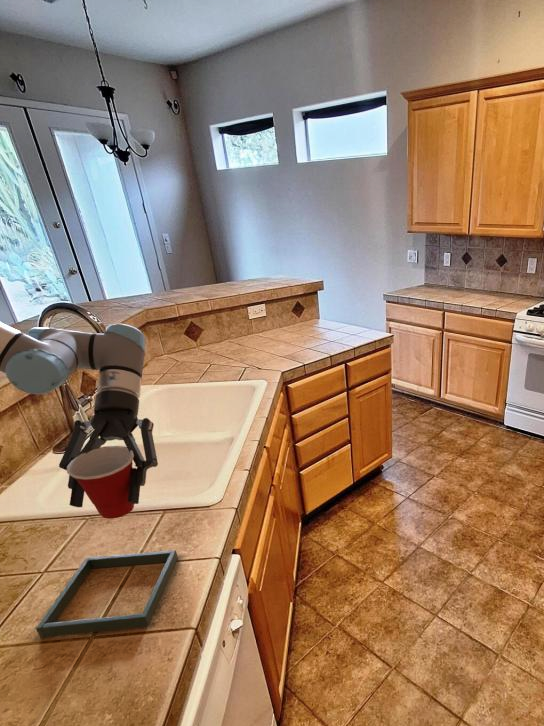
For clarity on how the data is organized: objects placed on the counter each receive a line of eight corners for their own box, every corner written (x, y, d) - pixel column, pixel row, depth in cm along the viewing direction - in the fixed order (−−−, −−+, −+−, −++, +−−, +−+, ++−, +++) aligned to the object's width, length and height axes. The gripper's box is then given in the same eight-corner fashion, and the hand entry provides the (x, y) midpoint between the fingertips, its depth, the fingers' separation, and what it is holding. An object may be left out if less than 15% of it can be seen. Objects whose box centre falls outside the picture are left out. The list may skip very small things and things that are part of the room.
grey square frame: (42, 642, 67) (35, 628, 65) (91, 570, 80) (86, 557, 79) (150, 630, 69) (145, 616, 67) (179, 562, 83) (175, 550, 81)
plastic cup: (71, 528, 81) (50, 473, 75) (105, 495, 90) (88, 445, 85) (130, 528, 81) (113, 474, 76) (157, 495, 91) (144, 445, 85)
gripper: (47, 389, 83) (26, 504, 76) (168, 387, 86) (158, 497, 79) (70, 404, 90) (53, 511, 83) (181, 401, 93) (173, 503, 86)
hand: (104, 504), depth 81 cm, fingers closed on plastic cup, 9 cm apart
